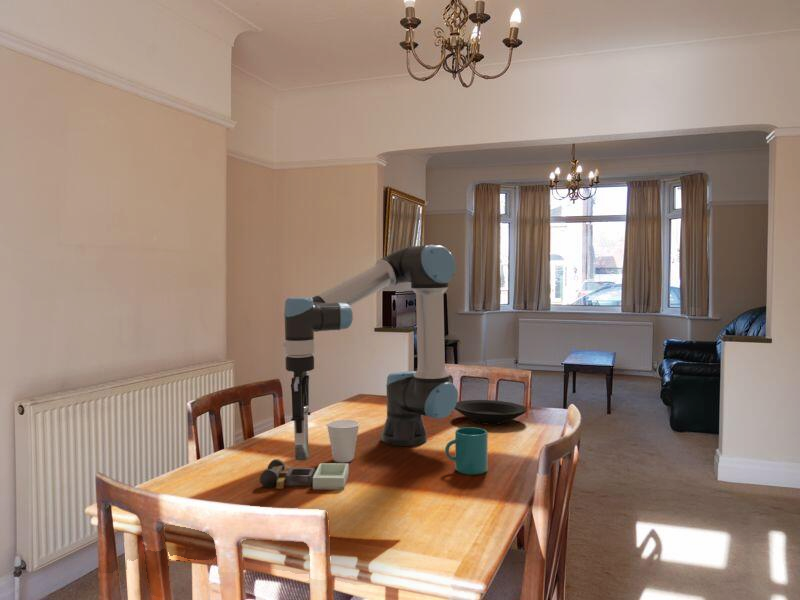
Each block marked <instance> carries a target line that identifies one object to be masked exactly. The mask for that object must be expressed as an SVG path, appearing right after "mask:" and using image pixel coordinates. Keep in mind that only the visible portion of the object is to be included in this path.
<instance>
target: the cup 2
mask: <svg viewBox="0 0 800 600" xmlns="http://www.w3.org/2000/svg"><path fill="white" fill-rule="evenodd" d="M454 433H455V436H454V439H453V440H449V442H448V443H447V444H446V446H445V450H444V452H445V455H446V457H447V458H448V459H449V460H451V461H452V462H453V461H454V463H455V466H454V467H455V470H456V471H457V472H458V473H459V474H463V475H470V476H475V475H477V476H478V475H482V474H485V473H486V472H487V471H488V434H489V433H488V431H487V430H486V429H483V428H482V427H481V428H480V427H474V426H473V427H471V426H470V427H469V426H468V427H467V426H466V427H460V428H457V429H456V430H455V432H454ZM454 444H455V446H454V447H455V450H454V453H455V454H454V455H455V456H452V455H451V454H450V447H451V446H452V445H454Z"/></svg>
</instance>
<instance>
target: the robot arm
mask: <svg viewBox="0 0 800 600" xmlns="http://www.w3.org/2000/svg"><path fill="white" fill-rule="evenodd" d="M455 273H456V260H455V258H454V256H453V253H451V252H450V251H449V249H448V248H447V247H445V246H442V245H437V244H436V245H435V244H429V245H428V244H427V245H426V244H425V245H416V246H412V245H411V246H405V247H403V248H400V249H398V250H396V251H394V252H392V253H389V254H388V255H385V256H384V257H381V258H380V259H378V260H377V261H375V264H374V266H371V267H369V268H367V269H365V270H364V271H362V272H360V273H358V274H356V275H354V276H352V277H350V278H349V279H345V281H343V282H340V283H337V284H336V285H334V286H333V287H330V288H328V289H326V290H325V291H322V292H321V293H318V294H317V295H314V296H313V297H309V296H308V297H307V296H302V297H301V296H299V297H298V296H297V297H296V296H295V297H288V298H286V299H285V301H284V312H283V316H284V336H285V337H284V339H285V341H284V343H283V344H282V345H283V347H284V348H285V355H287V356H286V357H285V370H286V371H287V372H292V373H293V377H292V378H291V383H290V390H291V411H292V417H291V419H290V421H291V422H293V424H294V425H293V426H294V427H293V428H294V446H295V445H305V420H304V405H308V406H309V407H310V397H309V396H310V392H309V391H310V386H309V381H310V375H308V373H307V372H310V371H313V370H314V369H315V356H314V353H315V339H314V338H315V337H314V332H315V333H316V332H317V333H318V332H327V331H340V330H346V329H348V328H350V327H351V325H352V323H353V320H354V317H353V315H354V314H353V310H352V308H351V306H352V305H354V304H357V303H358V302H360V301H361V300H363V299H365V298H368V297H369V296H371V295H373V294H375V293H376V292H378V291H380V290H383V289H384V288H392V287H394V286H396V285H399V284H403V283H410V288H411V291H413V292H414V294H415V298H416V299H415V300H416V305H415V306H416V307H415V308H416V339H417V341H416V342H417V350H416V351H417V370H410V371H409V370H407V371H398V372H392V373H389V374H388V375H387V377H386V378H387V379H386V385H385V386H386V420H385V422H384V426H383V429H382V432H381V442H382V443H384V444H387V445H391V446H399V447H409V446H411V447H413V446H417V445H422V444H424V443H426V442H427V441H428V440H427V439H428V438H427V431H426V428H425V425H424V421H423V418H422V416H426V417H428V418H430V419H439V420H440V419H445V418H447V417H448V416H449V415H451V413H453V411H454V410H455V409H454V408H455V406H456V404H457V402H458V398H459V392H458V389H457V387H456V386H455V385H454V383H452V382H451V375H450V372H449V371H448V370H447V369H446V360H445V359H446V357H445V356H446V355H445V354H446V353H445V351H446V349H445V317H444V316H445V315H444V314H445V311H444V308H445V307H444V293H445V292H446V291H447V290H448V289H449V282H450V281H451V280H452V279H453V276H454V275H455ZM311 414H312V413H311V411H308V416H311Z"/></svg>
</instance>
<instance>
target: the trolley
mask: <svg viewBox="0 0 800 600" xmlns="http://www.w3.org/2000/svg"><path fill="white" fill-rule="evenodd" d="M285 467H286V465H285V463H284V462H283V461H282V460H281V459H279V458H274V459H273V460H271V461H270V462H269V464H268V465H267V469H265V470H263V472H262V473H261V474H260V476H259V483H260V484H261V485H262V486H263V487H264V488H272V487H274V486H275V485H276V489H280V490H281V489H284V487H285V486H301V487H302V486H306V487H308V486H312V485H313V476H314V474H315V472H316V470H315V469H316V468H315V467H302V468H301V467H290V468H289V470H285V469H286V468H285Z"/></svg>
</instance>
